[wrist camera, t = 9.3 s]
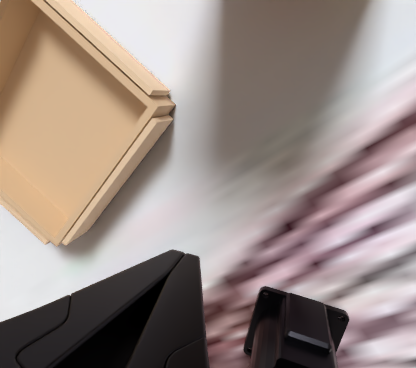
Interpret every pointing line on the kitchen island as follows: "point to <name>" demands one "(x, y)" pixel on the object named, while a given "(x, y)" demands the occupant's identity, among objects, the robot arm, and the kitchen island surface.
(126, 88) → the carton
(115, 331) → the robot arm
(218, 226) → the kitchen island surface
